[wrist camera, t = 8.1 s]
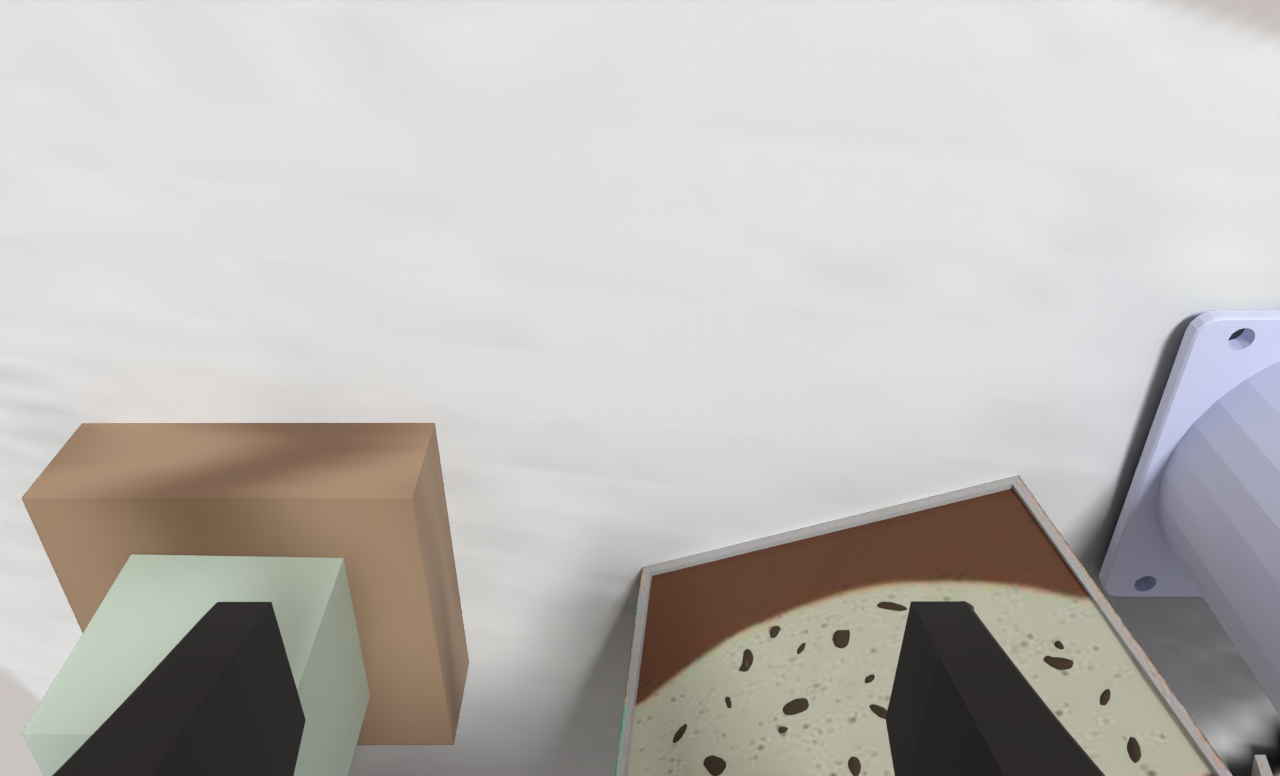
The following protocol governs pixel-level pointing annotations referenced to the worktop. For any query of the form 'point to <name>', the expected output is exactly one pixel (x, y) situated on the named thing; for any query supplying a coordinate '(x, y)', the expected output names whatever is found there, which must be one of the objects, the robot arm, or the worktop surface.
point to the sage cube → (170, 607)
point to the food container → (883, 644)
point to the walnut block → (280, 535)
